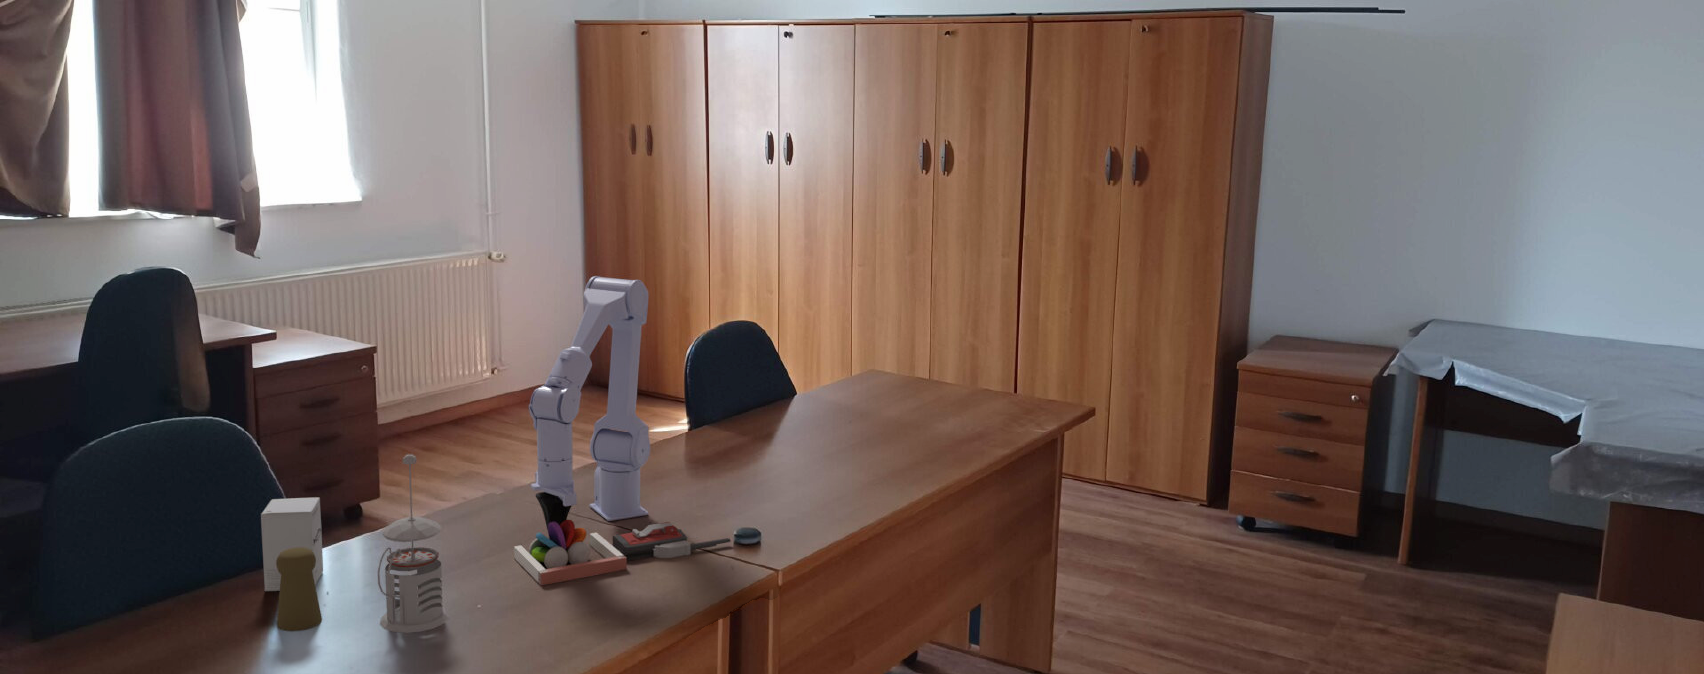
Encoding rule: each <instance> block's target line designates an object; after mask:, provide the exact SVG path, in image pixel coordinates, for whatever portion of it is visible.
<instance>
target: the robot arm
mask: <svg viewBox="0 0 1704 674" xmlns="http://www.w3.org/2000/svg"><path fill="white" fill-rule="evenodd" d="M649 293H650V292H649V291H648V289H647V287H646V285H645V284H644V282H643V281H642V280H640V279H622V278H614V277H613V278H612V277H603V276H600V275H595V276H594V275H593V276H592V277H590V278H589V280H588V282H587V283H586V285H585V289H584V292H583V293H582V296H583V297H582V299H583V306H584V310H583V311H584V312H583V314H582V317H581V319H580V322H579V324H578V327H577V328H576V329H577V330H576V332H575V334H574V337H573V339H572V343H571V345H570V347H568V348H565V349H562V350H561V351H560V353H559V354H558V357H557V359H556V361H555V363H554V365H553V366H552V369H551V371H550V373H549V375H548V377H547V379H546V381H545V383H544V385H541V386H540V387H537V388H536V389H534V391H533V392H532V394H531V397H530V401H529V405H528V411H529V414H530V417H531V418H532V420H533V421H532V422H533V424H532V425H533V428H534V430H535V431H536V449H537V450H536V451H537V452H536V453H537V455H536V459H537V462H536V463H537V470H536V471H534V473H535V474H534V476H535V478H534V479H535V482H534V483H531V484H530V489H532V491H534V492H535V491H537V493H536V494H535V498H536V500H537V501H538V503H539V505H540V508H541V510H542V513H543V517H544V521H545V525H546V529H547V531H548V525H549V523H551V522H556V523H558V524H559V526H560V525H561V524H562V523H563V522H564V521H565V520H568V516H569V513H570V510H571V508H572V507H573V506H575V505H577V492H575V480H573V473H574V471H573V465H574V464H573V421H574V420H575V419H576V417H577V416H578V415H579V410H580V404H581V403H580V402H581V401H580V400H581V399H582V391H581V390H582V388H583V385H584V383H585V381H586V379H587V377H588V375H589V373H590V372H591V369H592V366H593V363H592V360H591V354H592V352H593V351H594V349H595V348H596V346H597V344H598V342H599V341H600V339H601V337H602V335H603V334H604V332H605V331H606V329H607V327H608V326H610V327H611V330H612V335H611V347H610V348H611V351H610V365H609V380H608V393H607V395H608V396H607V408H606V411H607V412H606V414H605V415H603V416H602V417H601V418H600V419H598V420H596V422H594V427H593V432H592V433H593V434H592V436H591V439H590V442H589V443H590V444H589V452H590V455H591V458H592V460H593V461H595V462H596V469H595V471H594V477H593V479H594V483H593V484H594V485H593V486H594V487H593V490H594V495H593V496H594V501H593V503H589V507H590V508H591V509H592V510H594V511H595V512H596V513H598V514H599V515H600V516H601V517H602V518H604V519H605V520H606V521H609V522H612V521H618V520H623V519H630V518H636V517H642V516H647V515H649V512H648V510H646V509H645V508H643V507H642V506H641V468H642V467H643V466H645V464H646V463H647V462H648V460H649V458H650V455H651V454H650V453H651V441H650V436H649V434H650V433H649V432H650V431H649V428H650V427H649V425H648V424H646V423H645V421H644V420H642V419H641V418H640V417H639V416H638V415H637V413H636V409H637V395H638V381H639V369H640V368H639V366H640V356H641V355H640V352H641V339H642V326H643V325H645V324H647V320H648V309H649V297H650V296H649ZM538 491H541V492H538Z"/></svg>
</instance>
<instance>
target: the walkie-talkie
mask: <svg viewBox="0 0 1704 674" xmlns="http://www.w3.org/2000/svg"><path fill="white" fill-rule="evenodd" d="M631 531H632V532H627V533H622V534H615V535H612V546H613V547H614V548H616V549H617V550H618V551H619V552H621V553H622V554H623V555H624V556H625V557H627V561H633V560H638V559H645V558H650V557H654V558H658V559H659V558H660V559H673V558H677V557H683V556H691V552H693V551H694V552H695V551H696V550H700V549H707V548H713V547H716V546H717V545H720V544H727V543H731V541H732V540H731V538H729V537H725V538H720V539H715V540H713V539H712V540H709V541H708V540H707V541H702V542H697V543H695V542H688V539H689V538H688V537H689V536H687V535H686V533H684V532H683V531H682V529H679V528H678V527H677V526H675V525H674V524H673V523H671V522H669V521H665V522H661V523H653V524H648V525H647V526H646V527H644V529H643V530H640V531H639V530H638V529H637V528H633V529H632V530H631Z"/></svg>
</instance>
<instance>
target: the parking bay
mask: <svg viewBox="0 0 1704 674" xmlns="http://www.w3.org/2000/svg"><path fill="white" fill-rule="evenodd" d="M589 545H590V546H591V547H592V548H593V549H594V550H595V551H596V552H597V553H598V554H600V555H602V557H603V558H601V559H597V560H596V559H595V560H591V561H589V560H588V561H587V562H584V563H578V564H573V565H572V564H566V566H562V567H556V568H551V569H548V568H545V567H544V566H543V565H542V564H541V563H540V561H537V560H536V559H535V558H534V557H532V555H530V554H529V551H527V550H526V548H524V547H523V546H522V545H515V546H513V557H514V559H515V560H516V561H517V563H519V564H520V565H521V566H522V567H523V569H524V570H525V571H526V572H528V573H529V574H530V576H531V577H532V578H533V579H534V580H535V581H536V582H537V583H538V584H539V585H540V586H544V585H545V586H546V585H549V584H555V583H560V582H561V583H562V582H565V581H571V580H576V579H581V578H586V577H593V576H598V575H603V574H608V573H613V572H618V571H624V570H627V564H628V563H627V561H628V560H627V557H625V556H624V555H623V554H622V553H621V552H619V551H618V550H617V549H616V548H614V547H613V544H611V543H610V542H609V541H608V540H606V539H605V538H604V537H603V536H602V535H600V534H599V533H598V532H592V533H589Z"/></svg>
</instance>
